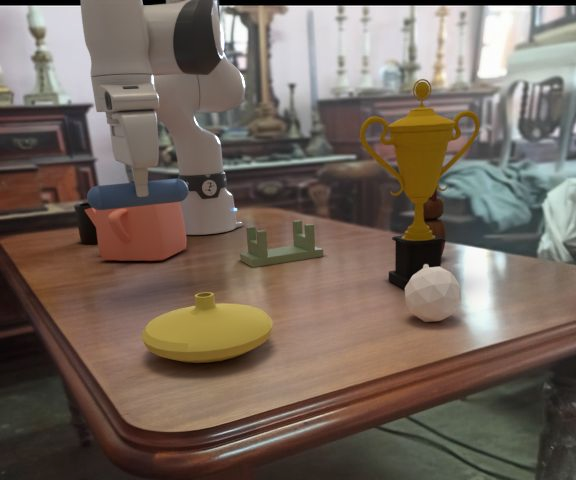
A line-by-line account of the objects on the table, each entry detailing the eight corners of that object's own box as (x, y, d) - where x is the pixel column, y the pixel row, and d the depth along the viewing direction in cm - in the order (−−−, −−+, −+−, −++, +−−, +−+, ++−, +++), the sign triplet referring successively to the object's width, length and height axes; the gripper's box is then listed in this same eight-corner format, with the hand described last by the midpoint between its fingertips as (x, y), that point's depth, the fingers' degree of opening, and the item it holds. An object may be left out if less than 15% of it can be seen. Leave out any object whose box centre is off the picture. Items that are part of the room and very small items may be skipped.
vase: (180, 389, 62) (172, 326, 59) (124, 349, 74) (115, 295, 71) (300, 350, 70) (297, 293, 67) (232, 320, 82) (228, 271, 79)
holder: (240, 260, 117) (237, 227, 115) (308, 250, 122) (306, 218, 120) (252, 267, 111) (249, 233, 109) (323, 256, 116) (322, 223, 114)
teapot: (198, 245, 134) (191, 182, 129) (152, 269, 114) (142, 196, 109) (121, 245, 139) (111, 185, 134) (65, 268, 120) (51, 198, 114)
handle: (90, 212, 88) (86, 188, 86) (88, 209, 91) (83, 186, 90) (192, 201, 93) (189, 178, 92) (186, 199, 96) (184, 176, 95)
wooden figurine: (445, 263, 105) (449, 177, 100) (412, 264, 106) (414, 178, 101) (443, 255, 111) (447, 173, 106) (412, 255, 113) (414, 174, 107)
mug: (133, 239, 145) (127, 202, 142) (83, 246, 141) (76, 207, 138) (126, 234, 153) (121, 198, 150) (79, 240, 149) (72, 203, 146)
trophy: (455, 269, 101) (464, 78, 90) (486, 282, 92) (501, 73, 81) (350, 282, 97) (347, 84, 86) (373, 298, 88) (373, 79, 77)
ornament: (399, 327, 75) (387, 270, 78) (432, 332, 80) (420, 278, 83) (445, 308, 71) (431, 247, 73) (477, 315, 76) (463, 258, 78)
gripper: (95, 101, 94) (110, 190, 99) (112, 96, 76) (129, 204, 82) (135, 99, 96) (147, 186, 101) (161, 94, 79) (173, 199, 84)
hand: (139, 194), depth 91 cm, fingers closed on handle, 3 cm apart
